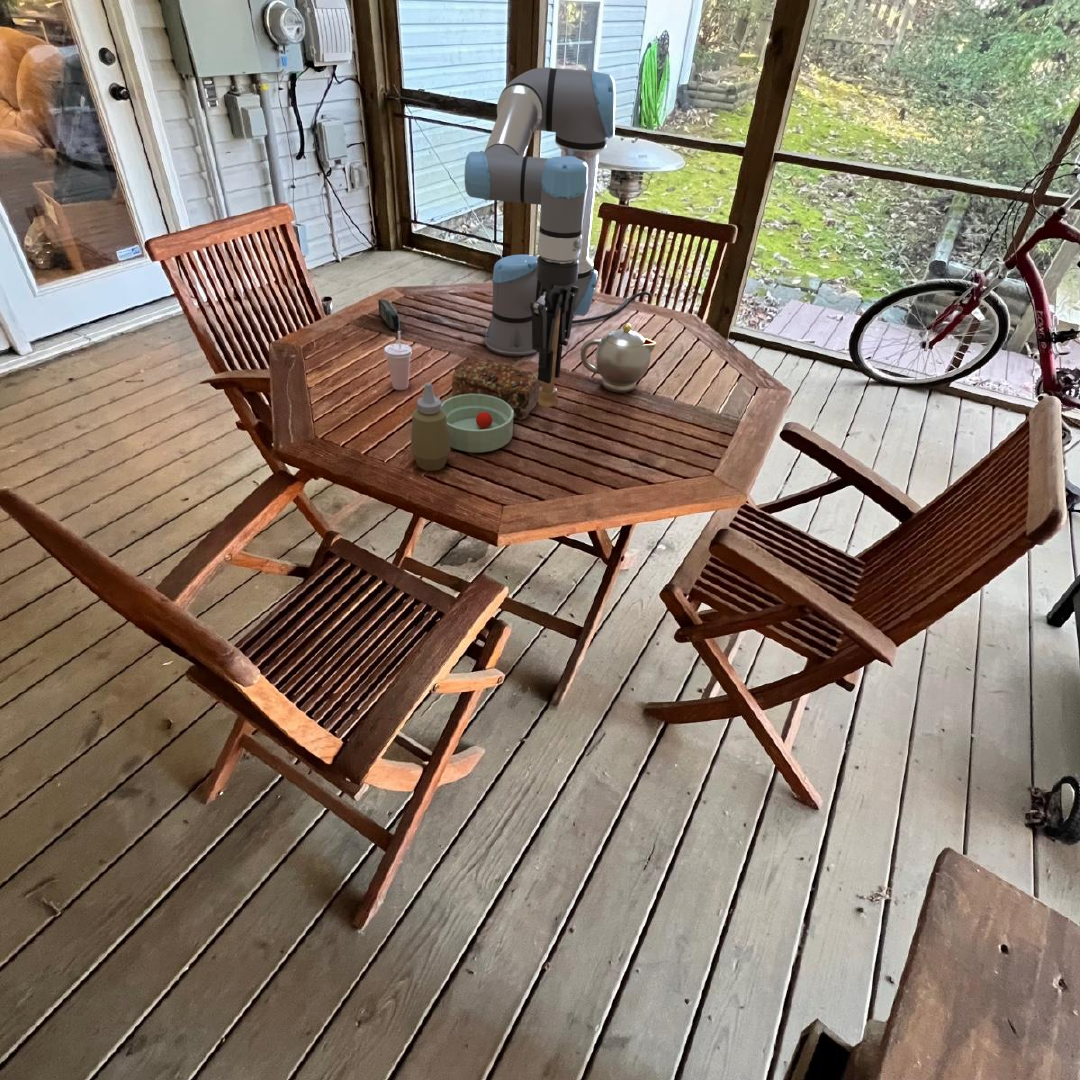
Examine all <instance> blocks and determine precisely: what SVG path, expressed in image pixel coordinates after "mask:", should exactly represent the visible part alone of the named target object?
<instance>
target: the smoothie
mask: <svg viewBox="0 0 1080 1080" xmlns="http://www.w3.org/2000/svg"><path fill="white" fill-rule="evenodd" d="M401 336H402V335H401V333H400V331H398V330H397V339H398V343H391V344H389V345H386V346H385V347H384V348H383V350H384V355H385V356H386V357H385V358H386V362H387V366H388V371H389V375H390V380H391V386H392V388H393V389H394V390H396V391H405V390H408V388H409V381H410V368H411V355H413V354H412V353H413V352H412V351H413V349H412V347H411V346H410V345H407V344H406V343H402V337H401Z"/></svg>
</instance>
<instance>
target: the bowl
mask: <svg viewBox="0 0 1080 1080" xmlns="http://www.w3.org/2000/svg"><path fill="white" fill-rule="evenodd" d="M441 408H442V409H443V410H445V412H446V416H447V424H448V431H449V439H450V446H451V449H455V450H458V451H461V452H466V453H473V454H474V453H475V454H476V453H487V452H493V451H496V450H499V449H501V448H503V447H505V446H506V445H508V444H509V443H510V441H511V440H512V438H513V433H514V432H513V429H514V417H513V409H512V408H511V406H510V405H509V404H508V403H506V402H505V401H504V400H502V399H499V398H497V397H494V396H490V395H485V394H463V395H458V396H454V397H453V396H451V397H449V398H447V399H446V400H443V401H441ZM481 412H487V413H489V414H490V415H491V417H492V424H491V425H490V426H489V427H488V428H481V427H479V426H478V425H477V423H476V417H477V415H478V414H479V413H481Z"/></svg>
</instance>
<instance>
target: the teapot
mask: <svg viewBox="0 0 1080 1080" xmlns="http://www.w3.org/2000/svg"><path fill="white" fill-rule="evenodd" d="M656 345H657V342H655V341H653V340H651V339H648V338H645V337H644V336H642V334H640V333H639V332H637V331H635V330H632V324H630V323H625V324H624V325H623V326H622V328H619V329H615V330H612V331H610V332H609V333H607V334H606V335H605V336H604V337H602V339H601V338H591V339H588V340H586V341H585V342H584V343H583V345H582V346H581V348H580V354H579V355H580V360H581V363H582V366H583V367H584V368H585V369H586V370H588V371H589V372H591V373H593V374H596V375H600V376H601V385H602V387H603V388H604V389H606V390H608V391H609V392H612V393H617V394H627V393H630V392H632V391H634V390H635V389H636V387H637V382H638V381H640V380H641V379H642V378H643V377H644V376H645V374H646V373H647V371H648V369H649V367H650V363H651V353H652V352H653V351H654V349H655V348H656ZM592 346H597V347H596V350H595V354H594V362H595V366H594V365H592V364H591V363H590V362H589V360H588V357H587V352H588V349H589V348H590V347H592Z"/></svg>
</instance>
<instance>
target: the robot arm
mask: <svg viewBox="0 0 1080 1080" xmlns="http://www.w3.org/2000/svg"><path fill="white" fill-rule="evenodd" d="M496 115H497V118H496V120H495V122H494V124H493V125H494V126H493V128H492V131H491V133H490V136H489V138H488V141H487V144H486V146H485V148H484V150H479V151H469V152H468V153H467V155H466V158H465V163H464V189H465V192H466V194H467V196H469V197H470V198H474V199H479V200H480V199H481V200H485V201H497V202H508V203H509V202H510V203H518V204H519V203H520V204H521V203H522V204H529V205H537V206H538V205H539V206H540V215H539V217H540V218H539V220H540V221H539V228H538V239H537V252H536V253H537V254H538V257H537V256H535V255H531V254H513V255H507V256H505V257H501V258H500V259H499V260H497V261H496V262H495V263H494V266H493V274H492V279H491V282H492V306H491V307H492V310H491V312H492V313H491V318H490V321H489V324H488V327H487V328H486V329H485V330H484V332H483V337H484V346H485V348H486V349H487V350H488V351H490V352H491V353H493V354H496V355H500V356H502V357H503V356H504V357H510V358H512V357H513V358H521V357H527V356H531V355H534V354H536V353H537V352H538V368H537V377H538V380H540V382H542V381H543V382H545V383H548V384H549V383H551V376H552V364H553V353H554V352H553V351H551V347H552V341H553V334H554V327H555V320H556V317H558V315H559V309H560V308H561V312H560V324H559V335H558V346H557V358H556V369H555V379H558V378H560V375H561V364H562V355H563V354H562V353H563V346H564V347H567V346H568V344H569V341H567V340H569V339H570V337H571V332H572V326H573V324H582V323H587V322H594V321H599V320H601V319H605V318H608V317H611V316H613V315H615V314H617V313H619V312H620V311H621V310H623V309H624V308H625V307H626V306H627V305H628V303H629V302H630V301H632V300H634V299H636V298H638V297H641V296H647V297H648V298H652V297H653V296H652V294H651V293H650V292H648V291H640V292H638V293H636V294H633V295H631V296H629V297H627V298H626V299H625V301H624V302H623V303H622V304H621V305H620V306H618V308H617V307H616V308H615V309H614V310H612V311H610V312H608V313H605V314H602V315H598V316H593V317H587V318H581V319H574V316H577V317H584V316H586V315H587V314H588V313H589V312H590V309H591V306H592V302H593V298H594V295H595V290H596V285H597V281H598V271H597V270H596V269H595V268H594V262H593V261H592V259H591V258H590V257H589V249H590V241H591V239H590V238H591V231H592V224H593V223H592V222H593V212H594V205H595V204H594V203H595V194H596V184H597V177H598V176H597V175H598V165H599V159H600V153H601V152H602V151H604V150H605V149H606V148H607V145H608V139H609V140H610V139H612V138H614V136H615V133H616V132H615V130H616V82H615V79H614V77H613V76H612V75H610V74H609V73H604V72H599V71H595V70H587V69H585V70H584V69H569V68H554V67H548V66H544V67H543V66H542V67H536V68H533V69H530V70H527V71H525V72H523V73H521V74H520V75H518V76H516V77H515V78H512V80H511V81H510V82H508V83H507V85H506V86H505V87H504V88H503V89H502V91H501V93H500V95H499V97H498V100H497V104H496ZM535 131H540V132H541V131H542V132H548V133H555V135H554V136H555V138H554V141H555V144H556V145H557V147H558V148H559V149H560V156H552V157H549V158H548V157H536V156H527V152H528V149H529V147H530V146H529V145H530V143H531V139H532V136H533V133H534V132H535Z"/></svg>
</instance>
